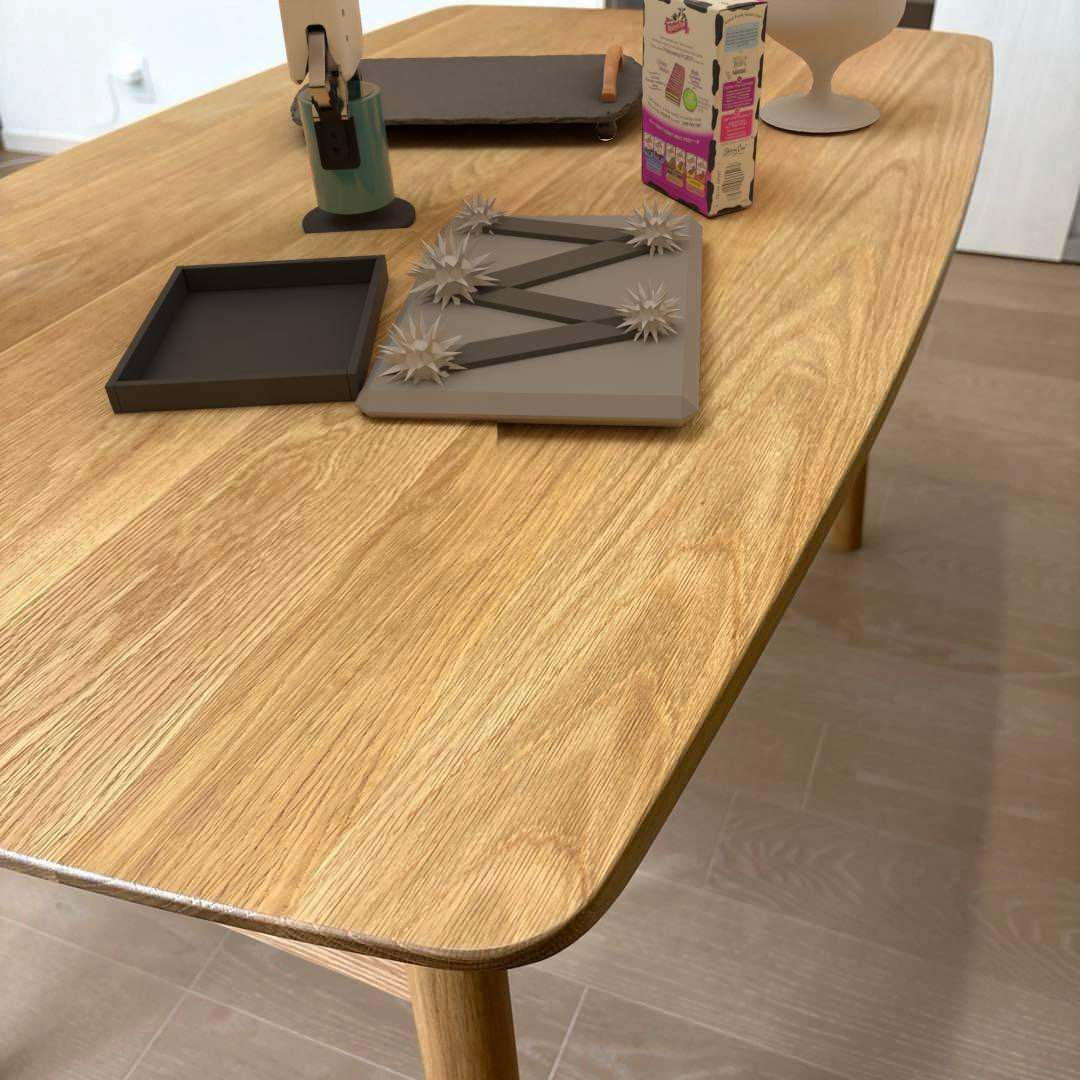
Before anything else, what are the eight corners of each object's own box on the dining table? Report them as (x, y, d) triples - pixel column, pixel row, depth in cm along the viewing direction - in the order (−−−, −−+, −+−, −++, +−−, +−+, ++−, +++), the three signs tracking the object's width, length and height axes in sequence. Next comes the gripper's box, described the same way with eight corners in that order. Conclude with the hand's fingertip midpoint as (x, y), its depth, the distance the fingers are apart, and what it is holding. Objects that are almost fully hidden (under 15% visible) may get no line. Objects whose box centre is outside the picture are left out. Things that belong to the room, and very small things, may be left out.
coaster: (294, 247, 91) (293, 242, 91) (312, 203, 99) (311, 197, 98) (411, 241, 91) (410, 235, 90) (420, 197, 98) (419, 191, 98)
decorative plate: (697, 440, 65) (702, 335, 60) (354, 432, 68) (335, 331, 63) (702, 238, 88) (706, 151, 83) (446, 238, 91) (436, 154, 86)
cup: (311, 216, 91) (290, 106, 85) (323, 187, 96) (304, 82, 91) (391, 212, 91) (375, 102, 85) (398, 183, 96) (384, 77, 90)
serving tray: (655, 79, 123) (656, 20, 119) (643, 147, 106) (643, 82, 102) (333, 84, 129) (323, 28, 125) (270, 150, 111) (257, 88, 107)
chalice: (917, 123, 107) (945, -45, 97) (797, 149, 103) (814, -24, 94) (836, 88, 117) (854, -67, 108) (724, 110, 113) (732, -49, 104)
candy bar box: (756, 207, 92) (772, -1, 82) (708, 220, 91) (718, 10, 81) (683, 169, 100) (689, -24, 90) (638, 181, 99) (639, -15, 88)
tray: (117, 423, 70) (104, 386, 68) (185, 299, 84) (176, 265, 82) (362, 410, 70) (356, 373, 68) (390, 287, 84) (385, 254, 82)
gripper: (279, -103, 87) (319, 122, 98) (234, -63, 73) (286, 192, 84) (371, -109, 86) (401, 117, 98) (343, -70, 73) (381, 187, 84)
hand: (347, 150), depth 91 cm, fingers closed on cup, 6 cm apart
